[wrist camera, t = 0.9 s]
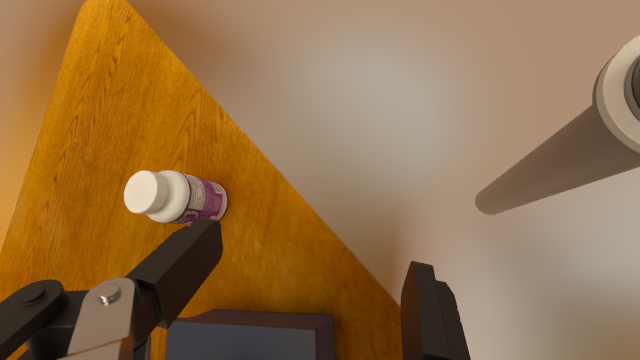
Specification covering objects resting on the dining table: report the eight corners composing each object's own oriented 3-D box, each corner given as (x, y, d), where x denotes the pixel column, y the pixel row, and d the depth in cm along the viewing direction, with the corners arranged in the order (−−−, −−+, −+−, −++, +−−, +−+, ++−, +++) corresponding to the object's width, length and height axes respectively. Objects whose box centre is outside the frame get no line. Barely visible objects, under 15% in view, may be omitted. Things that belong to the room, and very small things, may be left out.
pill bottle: (193, 228, 35) (115, 225, 26) (193, 186, 36) (118, 169, 27) (230, 222, 33) (161, 216, 24) (228, 178, 34) (162, 157, 26)
